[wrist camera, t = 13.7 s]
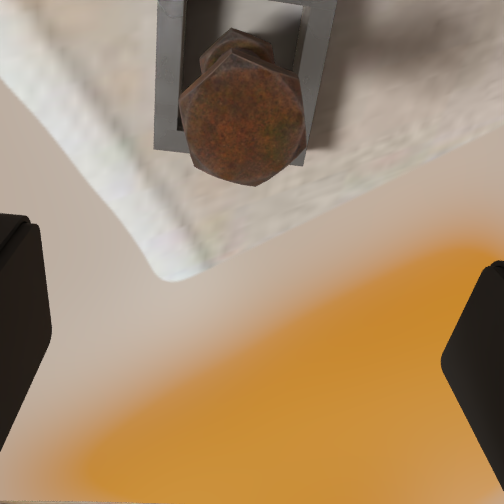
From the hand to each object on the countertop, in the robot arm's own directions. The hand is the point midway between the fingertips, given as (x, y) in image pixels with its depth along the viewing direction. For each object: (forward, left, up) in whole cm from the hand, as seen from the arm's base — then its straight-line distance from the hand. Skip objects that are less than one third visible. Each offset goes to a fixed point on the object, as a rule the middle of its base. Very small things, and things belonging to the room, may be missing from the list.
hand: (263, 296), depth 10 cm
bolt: (0, 0, -26) cm, 27 cm away
